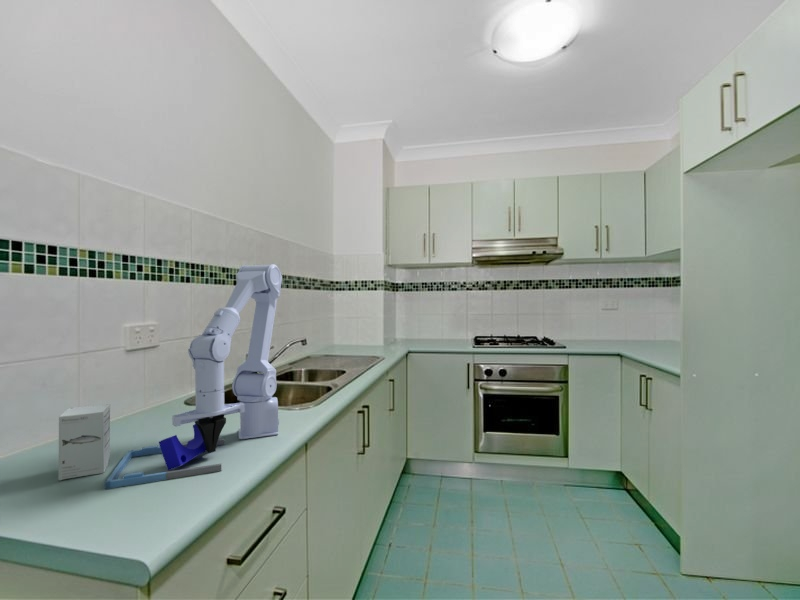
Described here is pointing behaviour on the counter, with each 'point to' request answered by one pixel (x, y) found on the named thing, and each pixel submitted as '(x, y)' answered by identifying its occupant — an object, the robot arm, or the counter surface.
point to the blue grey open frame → (140, 478)
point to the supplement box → (84, 441)
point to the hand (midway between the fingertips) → (210, 451)
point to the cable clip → (181, 449)
